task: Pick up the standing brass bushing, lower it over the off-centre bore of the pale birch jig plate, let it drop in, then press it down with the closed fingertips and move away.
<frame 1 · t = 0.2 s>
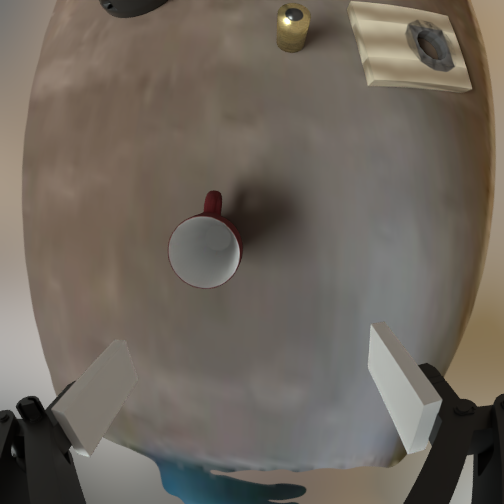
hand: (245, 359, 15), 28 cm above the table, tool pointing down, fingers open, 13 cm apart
bushing: (290, 41, 35), on the table
mug: (217, 228, 42), on the table
jig: (409, 49, 34), on the table
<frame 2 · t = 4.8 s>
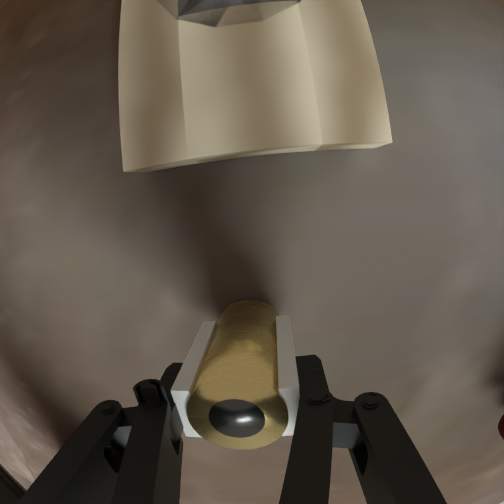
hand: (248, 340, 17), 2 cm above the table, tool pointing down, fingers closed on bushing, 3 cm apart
bushing: (250, 329, 18), point 1 cm above the table, touching gripper
jig: (241, 25, 15), on the table
when the fingers open (4 cm above the table, at t = 10.5 s): bushing drops 2 cm, resting in jig.
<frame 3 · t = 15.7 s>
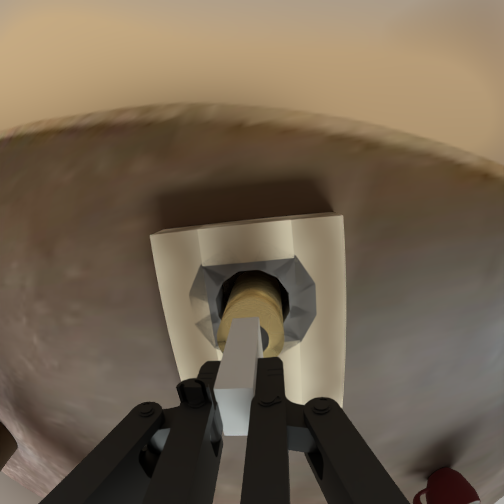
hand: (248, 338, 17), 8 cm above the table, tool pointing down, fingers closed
bushing: (256, 292, 25), resting in jig, touching gripper
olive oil: (2, 430, 35), on the table
mug: (432, 475, 31), on the table
jig: (258, 324, 26), on the table
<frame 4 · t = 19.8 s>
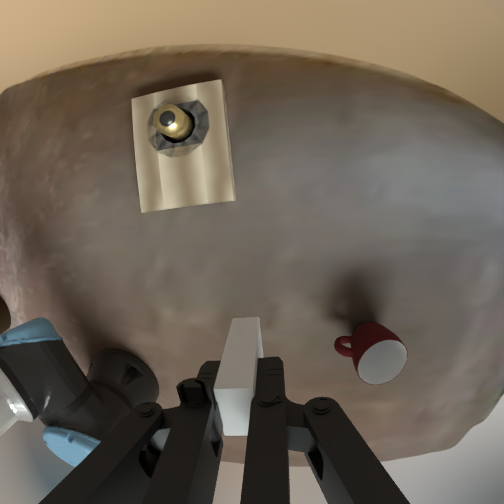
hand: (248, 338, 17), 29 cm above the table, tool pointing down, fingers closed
bushing: (183, 129, 43), resting in jig
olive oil: (0, 311, 53), on the table
mug: (358, 332, 48), on the table
jig: (184, 147, 43), on the table
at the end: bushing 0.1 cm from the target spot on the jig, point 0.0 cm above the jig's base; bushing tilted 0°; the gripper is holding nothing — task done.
